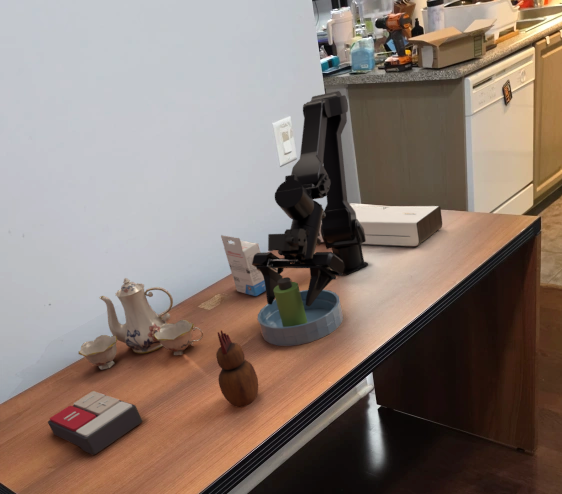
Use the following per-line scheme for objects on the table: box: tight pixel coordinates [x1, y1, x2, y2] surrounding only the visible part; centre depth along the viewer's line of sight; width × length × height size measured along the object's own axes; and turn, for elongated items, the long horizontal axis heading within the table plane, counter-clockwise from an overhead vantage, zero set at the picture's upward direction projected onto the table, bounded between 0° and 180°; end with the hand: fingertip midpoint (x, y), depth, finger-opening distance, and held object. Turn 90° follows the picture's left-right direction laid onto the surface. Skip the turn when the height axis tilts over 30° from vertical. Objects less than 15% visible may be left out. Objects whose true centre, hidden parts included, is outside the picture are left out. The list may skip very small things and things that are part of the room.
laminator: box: [318, 205, 443, 248], centre depth 169 cm, size 34×12×6 cm, turn 49°
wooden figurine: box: [215, 329, 259, 408], centre depth 112 cm, size 7×6×15 cm
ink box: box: [220, 234, 266, 297], centre depth 156 cm, size 8×5×15 cm, turn 39°
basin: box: [256, 289, 344, 347], centre depth 134 cm, size 17×17×4 cm
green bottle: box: [273, 276, 308, 327], centre depth 129 cm, size 5×5×12 cm
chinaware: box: [78, 277, 204, 370], centre depth 140 cm, size 28×17×17 cm, turn 91°
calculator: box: [47, 390, 143, 456], centre depth 119 cm, size 11×4×15 cm
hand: (288, 304), depth 128 cm, fingers open, 9 cm apart
